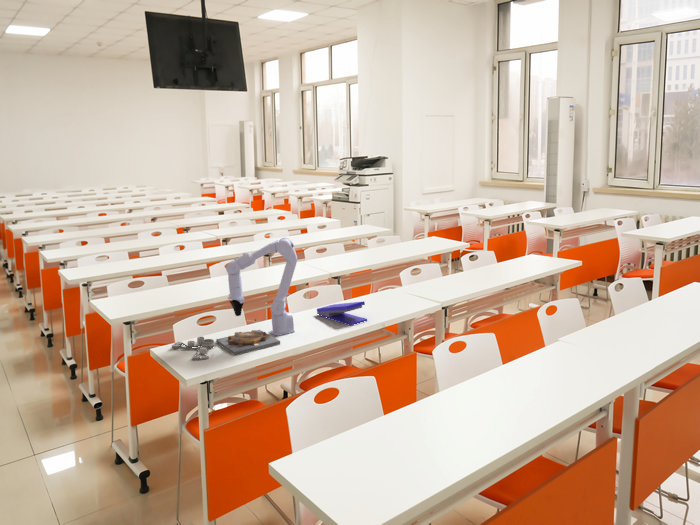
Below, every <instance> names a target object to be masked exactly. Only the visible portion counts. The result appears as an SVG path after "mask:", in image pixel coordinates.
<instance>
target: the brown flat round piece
mask: <svg viewBox="0 0 700 525" xmlns="http://www.w3.org/2000/svg"><path fill="white" fill-rule="evenodd" d="M256 330H257V329H256ZM256 330H255V329H254V330H251V331H244V332H242V331H236V332H234V336H233V335H229V336H227V337H228V344H229V345H231V344H236V345H239V346H243V345H249V344H258V342H260V341H262V340H267V336H266V333H267V332H265V331H263V332H256Z"/></svg>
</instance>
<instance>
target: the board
mask: <svg viewBox="0 0 700 525" xmlns="http://www.w3.org/2000/svg"><path fill="white" fill-rule="evenodd" d="M256 332H264V331H263V330H261V329H256ZM234 335H235V334H234ZM234 335H232V336H234ZM266 336H267V340H262V341H260V342H258V344H249V345H243V346H239V345H236V344H231V345H229V344H228V337H229V336H225V337H221V338H216V339H215V342H218V343H219V344H220V345H219V344H218V343H217V344H218V345H219V346H221V347H222V346H223V347H224V349H225V350H226V349H227V350H226V351H228V352H229V353H231V354H232V355H233V356H238V355H242V354H245V353H250V352H255V351H258V350H261V349H266V348H270V347H274V346H279V345H281V340H279V339H278V338H275V337H274V336H272V335H270V334H268V333H267V332H266ZM223 347H222V348H223ZM254 350H255V351H254Z"/></svg>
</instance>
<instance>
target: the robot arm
mask: <svg viewBox="0 0 700 525" xmlns="http://www.w3.org/2000/svg"><path fill="white" fill-rule="evenodd" d="M277 252H278V253H279V254H280V256H282V257H283V258H284V260H285V261H286V263H285V266H284V268H283V269H284V270H283V273H282V275H281V280H280V283H279V286H278V290H277V293H276V296H275V298H274V300H273V302H272V304H271V306H270V313H271V314H270V316H271V326H272V330H270V331H269V333H270V334H272V335H274V336H276V337H278V336H282V335H287V334H291V333H295V326H294V317H293V314H292V313H291V312H289V311H288V312H287V310H286V309H285V308H287V297H288V294H289V289H290V286H291V284H292V279H293V276H294V274H295V269H296V267H297V266H296V265H297V263H298V255H297V252H296V249H295V245H294V243H293V242H292V240H291V239H290V238H289V237H281V238H280V239H277V240H275V241H272V242H270V243H268V244H267V245H264V246H263V247H261V248H260V249H259V248H258V250H256V251H254V252H244V253H242V255H241V256H239V257H238V258H237V257H235V258H233V259H232V260H230V261H229V262H228V264H226V267H225V270H226V273H227V278H228V281H227V282H228V289H229V290H228V291H229V293H228V297H227V300H229V303H230V306H232V309H233V311H234V315H235V317H240V316H242V310H243V306H244V304H245V303H246V301H245V298H244V295H243V285H242V277H241V270H242V271H243V270H245V269H246V268H249V267H251V266H253V265H254V264H256V260H258V259H259V258H261V257H265V256H266V255H268V254H270V253H274V254H277Z"/></svg>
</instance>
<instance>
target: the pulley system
mask: <svg viewBox="0 0 700 525" xmlns="http://www.w3.org/2000/svg"><path fill="white" fill-rule="evenodd" d="M196 339H197V340H196V341H197V342H196V344H197V345H195V341H194V340H188V341H187V342H186V343H187V344H186V343H184V342H182V341H176V342H174V343H173V344H171V348H172V349H175V350H176V349H177V350H189V349H198V350H199V351H198V350H196V352H195V353H194V355H193V356H192V361H206V360H209V359H210V355H208V351H209V350H208V349H210V350H212V349H214V348H215V347H214V346H216V345H215V344H216V343H215V341H214V339H213V338H205V337H204V336H198V337H197V338H196ZM182 344H183V345H182ZM179 345H182V346H180V347H179ZM184 345H185V346H184ZM198 346H202V347H198ZM192 347H198V348H192ZM213 347H214V348H213ZM211 348H212V349H211ZM197 352H198V353H199V355H198V353H197ZM206 353H207V354H206ZM200 354H201V355H200ZM195 355H196V356H195Z"/></svg>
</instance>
